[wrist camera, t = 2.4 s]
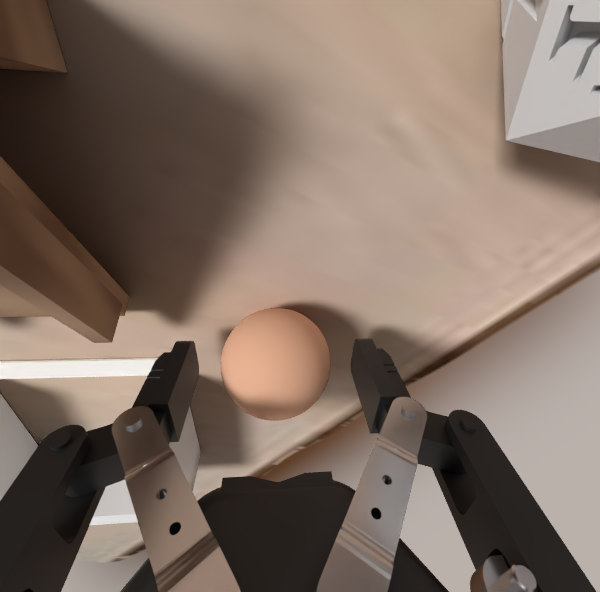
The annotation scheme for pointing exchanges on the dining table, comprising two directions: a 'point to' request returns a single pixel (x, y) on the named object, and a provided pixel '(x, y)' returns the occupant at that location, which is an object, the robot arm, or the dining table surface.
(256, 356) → the ball
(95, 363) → the tape line
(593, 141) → the die
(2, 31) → the ramp
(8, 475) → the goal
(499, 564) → the robot arm
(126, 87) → the dining table surface
